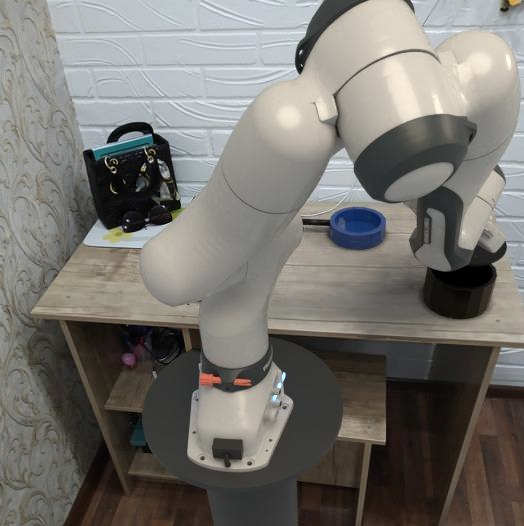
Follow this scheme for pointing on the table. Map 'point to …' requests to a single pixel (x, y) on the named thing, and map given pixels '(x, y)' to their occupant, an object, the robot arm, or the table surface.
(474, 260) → the lid
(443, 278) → the pot
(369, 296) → the table surface
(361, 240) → the pan
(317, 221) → the pan handle
